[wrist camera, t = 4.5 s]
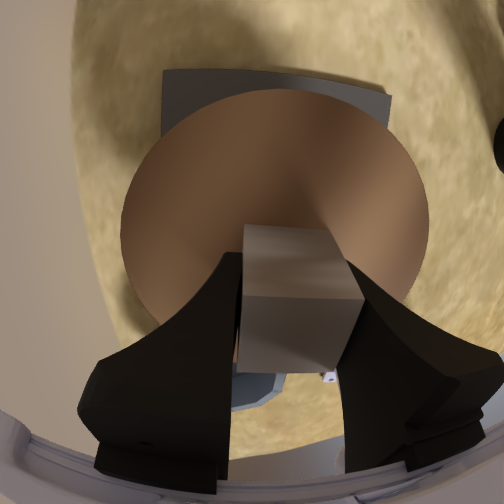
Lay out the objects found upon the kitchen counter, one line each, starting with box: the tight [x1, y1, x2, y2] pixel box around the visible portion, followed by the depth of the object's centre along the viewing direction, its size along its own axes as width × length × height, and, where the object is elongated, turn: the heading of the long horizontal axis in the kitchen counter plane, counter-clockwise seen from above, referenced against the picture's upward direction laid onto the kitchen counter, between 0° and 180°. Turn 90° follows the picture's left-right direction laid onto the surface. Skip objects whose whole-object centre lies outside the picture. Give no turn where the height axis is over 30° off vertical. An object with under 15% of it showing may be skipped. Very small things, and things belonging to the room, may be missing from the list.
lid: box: [120, 89, 429, 373], centre depth 10 cm, size 13×13×5 cm
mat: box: [161, 69, 392, 138], centre depth 18 cm, size 14×14×1 cm
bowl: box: [160, 325, 287, 412], centre depth 24 cm, size 11×11×4 cm
